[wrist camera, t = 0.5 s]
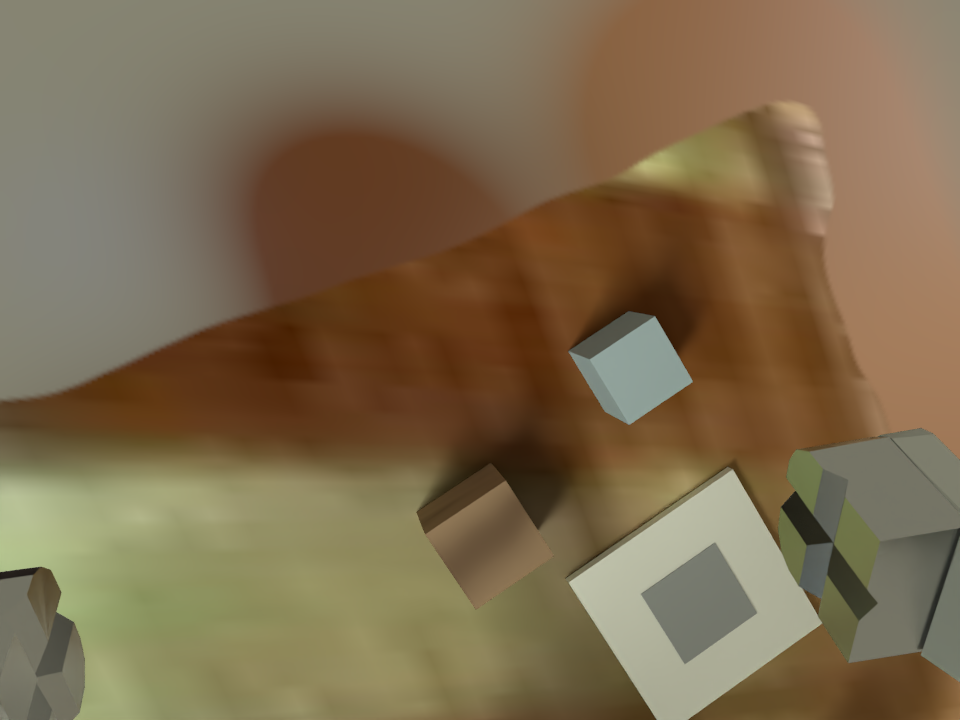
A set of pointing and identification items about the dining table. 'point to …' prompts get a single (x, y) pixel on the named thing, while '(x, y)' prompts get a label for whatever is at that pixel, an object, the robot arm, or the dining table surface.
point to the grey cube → (630, 366)
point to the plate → (695, 599)
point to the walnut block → (484, 535)
